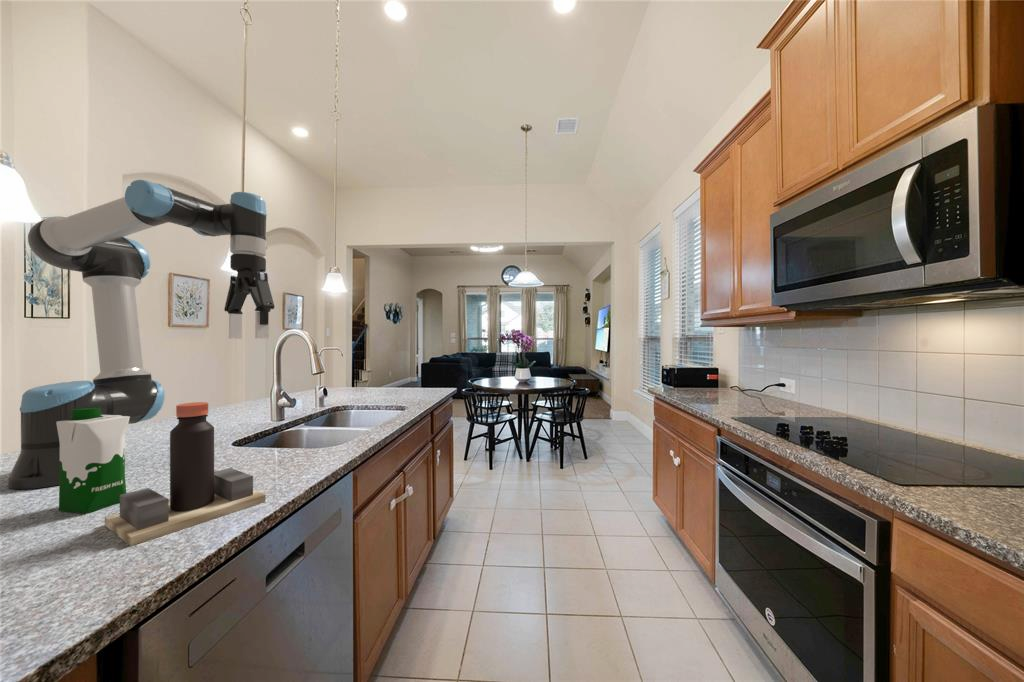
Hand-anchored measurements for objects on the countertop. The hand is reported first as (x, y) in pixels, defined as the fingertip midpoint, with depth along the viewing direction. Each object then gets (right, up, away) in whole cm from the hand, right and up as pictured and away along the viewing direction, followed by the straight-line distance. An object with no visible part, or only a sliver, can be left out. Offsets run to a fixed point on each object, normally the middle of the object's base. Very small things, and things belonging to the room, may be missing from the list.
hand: (248, 338), depth 99 cm
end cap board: (+4, -35, -22) cm, 41 cm away
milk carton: (-19, -35, -19) cm, 44 cm away
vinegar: (+4, -33, -22) cm, 40 cm away
